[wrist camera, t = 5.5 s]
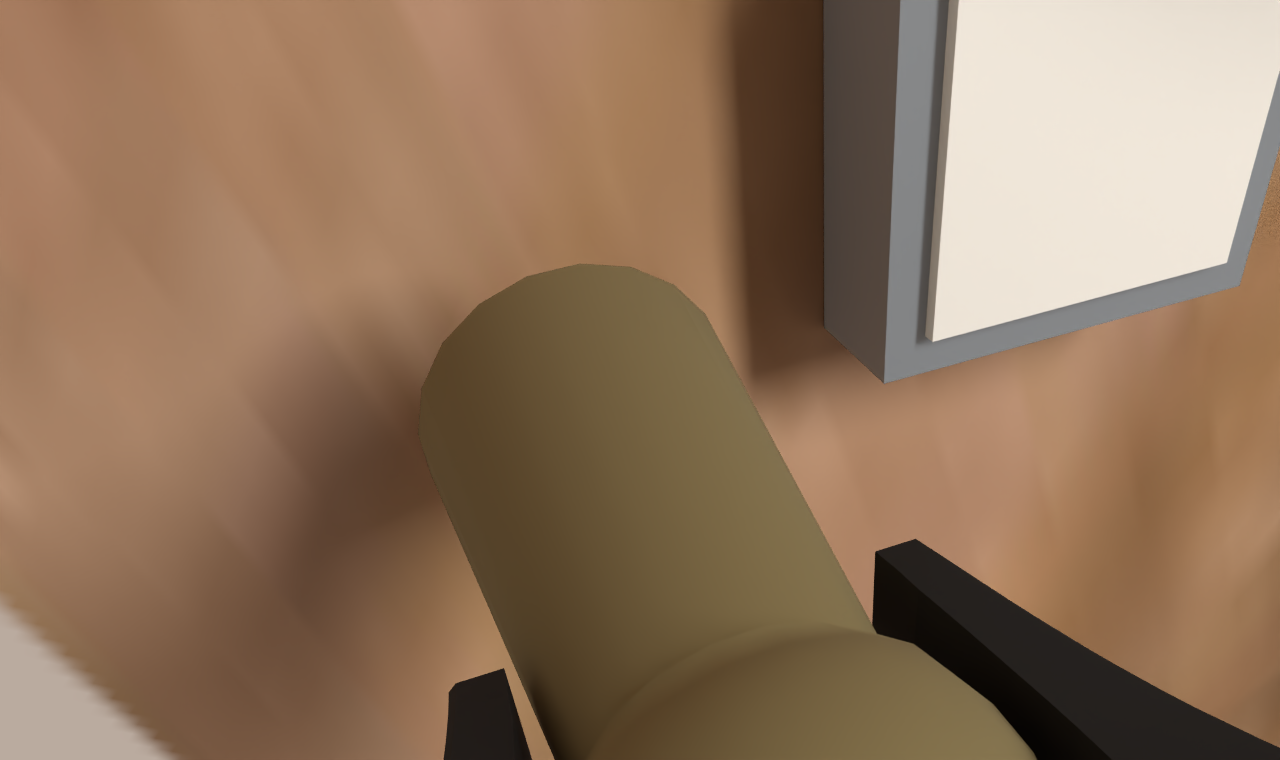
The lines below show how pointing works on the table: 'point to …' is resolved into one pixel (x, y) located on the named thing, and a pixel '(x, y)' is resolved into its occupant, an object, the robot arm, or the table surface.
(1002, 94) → the plinth
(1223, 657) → the table surface
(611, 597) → the cork
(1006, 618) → the robot arm
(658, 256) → the table surface
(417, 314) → the table surface
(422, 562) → the table surface
